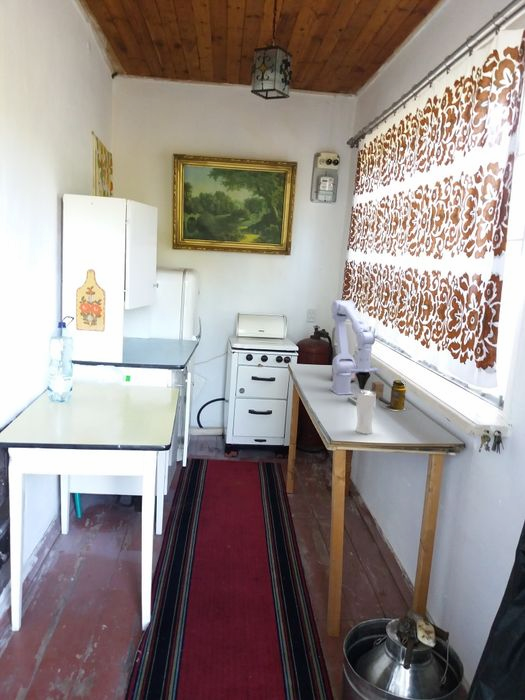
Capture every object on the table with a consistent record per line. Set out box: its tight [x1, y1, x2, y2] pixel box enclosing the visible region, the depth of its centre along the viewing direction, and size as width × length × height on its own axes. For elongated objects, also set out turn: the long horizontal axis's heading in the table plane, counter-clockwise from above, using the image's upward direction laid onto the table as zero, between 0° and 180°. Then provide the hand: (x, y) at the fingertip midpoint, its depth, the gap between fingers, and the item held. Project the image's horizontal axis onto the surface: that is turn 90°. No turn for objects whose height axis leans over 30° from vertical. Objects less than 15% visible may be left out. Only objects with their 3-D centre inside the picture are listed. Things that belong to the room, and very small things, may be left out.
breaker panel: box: [347, 395, 358, 407], centre depth 234 cm, size 10×8×2 cm
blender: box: [330, 319, 357, 382], centre depth 271 cm, size 16×12×32 cm
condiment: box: [382, 379, 407, 412], centre depth 228 cm, size 7×8×12 cm
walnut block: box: [370, 381, 385, 400], centre depth 244 cm, size 4×4×7 cm
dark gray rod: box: [378, 397, 390, 405], centre depth 238 cm, size 9×1×1 cm, turn 16°
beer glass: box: [355, 390, 377, 435], centre depth 195 cm, size 7×7×15 cm
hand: (361, 388), depth 233 cm, fingers closed
